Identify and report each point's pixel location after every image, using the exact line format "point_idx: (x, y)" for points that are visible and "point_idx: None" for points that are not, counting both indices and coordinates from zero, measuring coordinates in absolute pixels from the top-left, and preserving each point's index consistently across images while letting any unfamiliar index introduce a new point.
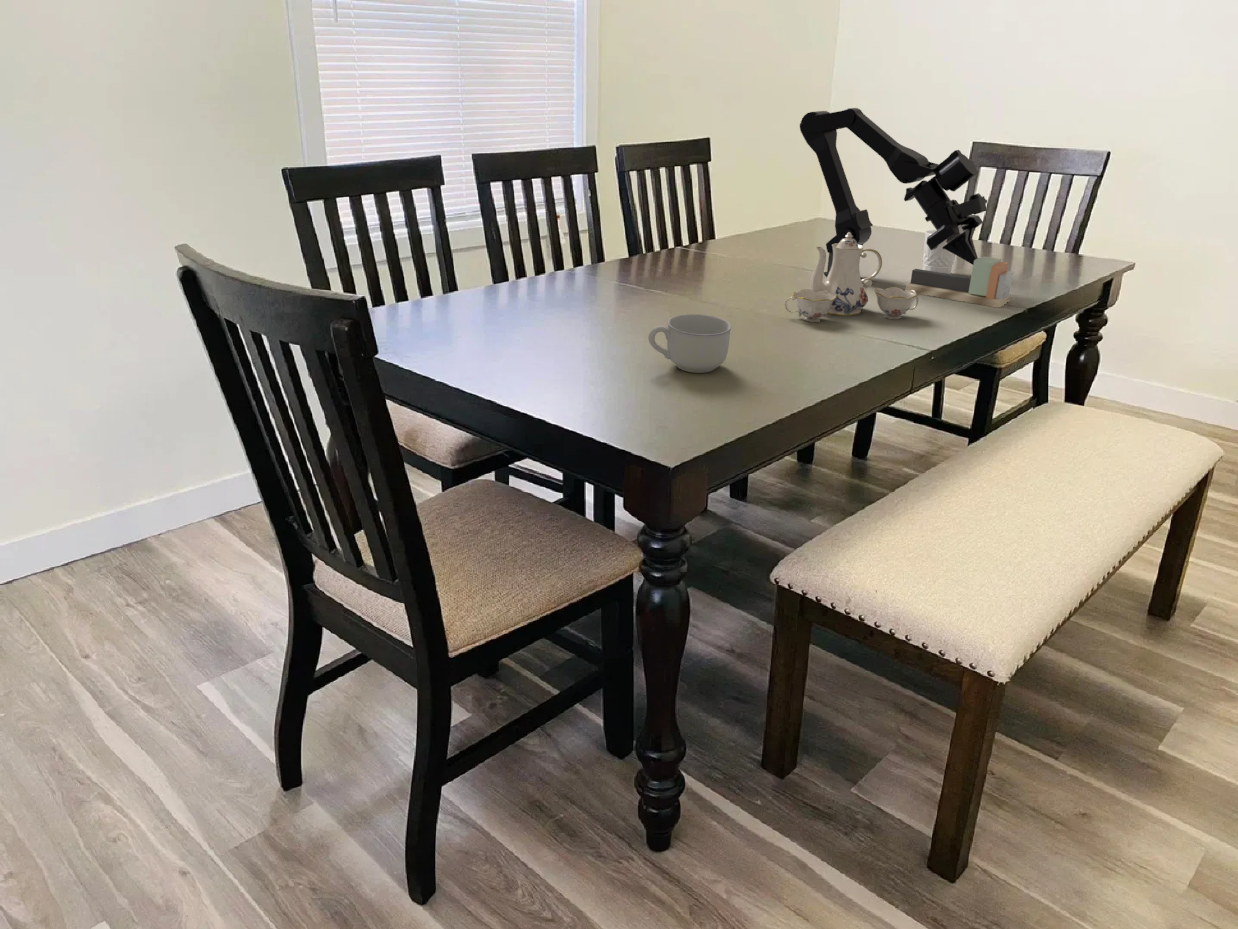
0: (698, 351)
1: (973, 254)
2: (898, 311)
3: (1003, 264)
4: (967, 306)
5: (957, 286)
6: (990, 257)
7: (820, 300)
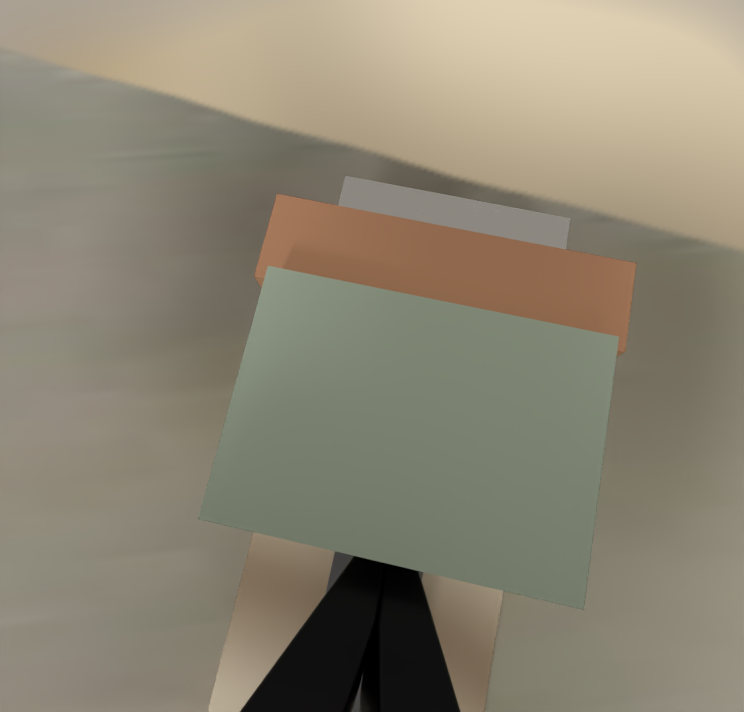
0: None
1: (443, 667)
2: None
3: (412, 237)
4: (620, 512)
5: None
6: (241, 405)
7: None
